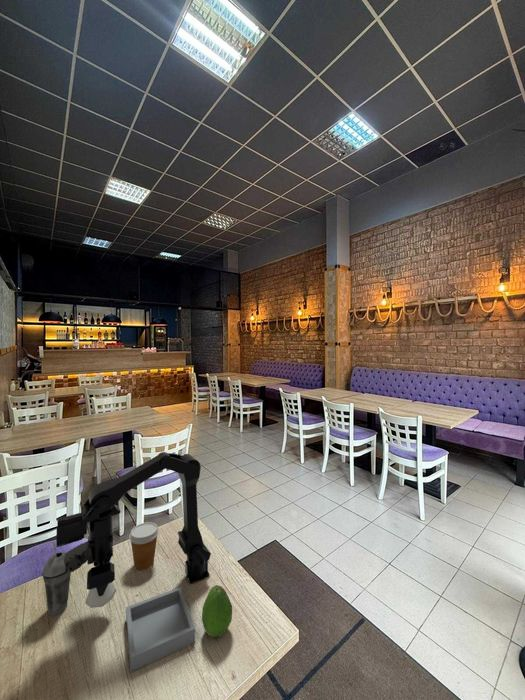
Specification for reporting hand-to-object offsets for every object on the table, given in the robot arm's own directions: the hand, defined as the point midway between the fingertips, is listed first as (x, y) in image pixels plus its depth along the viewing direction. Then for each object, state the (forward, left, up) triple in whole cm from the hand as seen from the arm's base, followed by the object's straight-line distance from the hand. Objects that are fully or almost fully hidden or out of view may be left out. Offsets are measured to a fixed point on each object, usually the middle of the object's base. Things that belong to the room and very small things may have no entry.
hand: (101, 588), depth 82 cm
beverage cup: (+11, -9, -8) cm, 16 cm away
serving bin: (-14, +12, -8) cm, 20 cm away
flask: (0, 0, -3) cm, 3 cm away
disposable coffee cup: (-13, -16, -8) cm, 22 cm away
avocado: (-27, +19, -8) cm, 34 cm away
